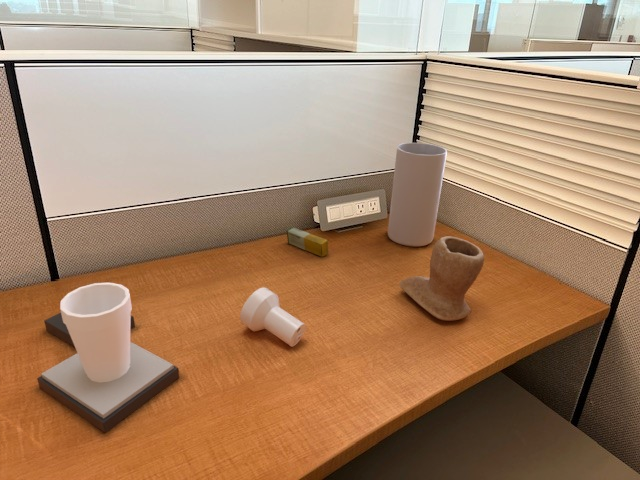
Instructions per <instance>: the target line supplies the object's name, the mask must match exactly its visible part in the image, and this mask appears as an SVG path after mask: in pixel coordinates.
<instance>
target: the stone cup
mask: <svg viewBox="0 0 640 480" xmlns="http://www.w3.org/2000/svg"><path fill="white" fill-rule="evenodd" d="M484 263H485V255H484V252H483V251H482V249H481V248H480V247H479V246H477V245H476V244H474V243H472V242H470V241H468V240H465V239H463V238H459V237H456V236H450V235H446V236H442V237H440V238H439V239H438V240H437V241H436V242H435V243H434V245H433V247H432V251H431V255H430V260H429V277H427V276H423V275H413V276H408V277H406V278H403V279H402V280H400V281H399V283H398V286H399V288H401V289H402V290H403V291H404V292H405V293H406V294H407V296H409V297H410V298H411V299H412V300H413V301H414V302H415V303H416V304H417V305H419V306H420V307H421V308H423V309H424V310H425V311H426V312H428V313H429V314H430V315H432V316H433V317H434V318H435V319H438V320H441V321H446V322H451V321H459V320H462V319H465V318H467V317H468V316H469V315H470V314H471V313H472V309H471V307H470V306H469V304H468V303H467V302H466V300H465V296H466V294H467V292H468V291H469V289H470V288H471V287H472V286H473V284H474V283H475V281H476V280H477V278H478V277H479V275H480V273H481V271H482V269H483V266H484Z"/></svg>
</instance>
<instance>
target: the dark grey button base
mask: <svg viewBox="0 0 640 480" xmlns="http://www.w3.org/2000/svg"><path fill="white" fill-rule="evenodd" d="M44 326H45V329H46V332H47V333H49V334H51V335H53V336H54V337H55V338H58V339H60V340H61V341H63V342H64V343H66V344H68V345H70V346H71V347H73V348H75V346H74V343H73V341H72V339H71V336H70V334H69V331H68V329H67V326H66V325H65V324H64V323H63V319H62V315H61V312H59V313H57V314H54V315H52V316H51V317H49V318H46V319H44ZM134 328H136V325H135V318H134V316H133V315H131V325H130V331H132V330H133V329H134Z"/></svg>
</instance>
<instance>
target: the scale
mask: <svg viewBox="0 0 640 480" xmlns="http://www.w3.org/2000/svg"><path fill="white" fill-rule="evenodd" d="M179 378H180V371H179V367H178V366H176V365H174V364H173V363H171V362H170V361H168V360H166V359H164V358H163V357H160V356H158V355H157V354H155V353H153V352H151V351H149V350H147V349H145V348H144V347H142V346H139V345H138V344H136V343H134V342H132V341H130V367H129V369H128V371H127V373H125V374H124V375H123V376H121V377H120V378H118V379H116V380H113V381H110V382H102V383H99V382H95V381H91V380H90V379H89V378H88V377H87V374H86V373H85V370H84V368H83V365H82V363H81V360H80V358H79V356H78V353H77V352H76V353H75V354H72V355H71V356H69V357H68V358H65V359H64V360H62V361H61V362H59V363H57V364H55V365H54V366H52V367H50V368H49V369H47V370H45V371H43V372H41V373H40V376H39V377H37V378H36V380H37V383H38V387H39V389H41V390H42V391H43V392H44V393H46V394H47V395H49V396H50V397H52V398H53V399H55V400H56V401H58V402H59V403H61V404H62V405H63V406H65V407H66V408H68V409H69V410H71V411H72V412H74V413H75V414H77V415H78V416H79V417H80V418H82V419H84V420H85V421H87V422H88V423H90V424H91V425H93V426H94V427H95V428H97V429H98V430H100V431H101V432H103V433H104V434H106V433H107V432H109V431H110V430H111V429H112V428H114V427H115V426H117V425H118V424H119V423H120V422H122V421H123V420H124V419H126V418H127V417H128V416H130V415H131V414H133V413H134V412H135V411H136V410H138V409H140V407H142V406H144V405H145V404H146V403H147V402H148V401H150V400H151V399H153V398H154V397H155V396H157V395H158V394H159V393H160V392H162V391H163V390H164V389H166V388H167V387H168V386H170V385H171V384H172V383H174V382H176V381H177V380H178V379H179Z"/></svg>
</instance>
